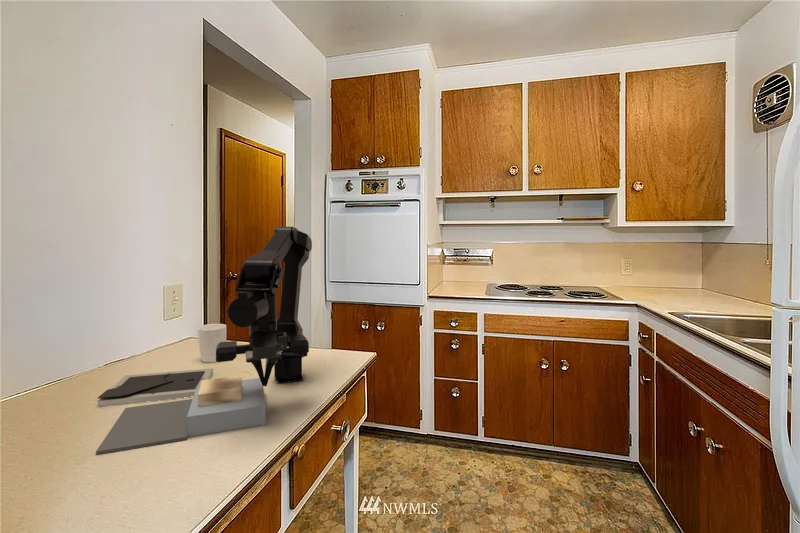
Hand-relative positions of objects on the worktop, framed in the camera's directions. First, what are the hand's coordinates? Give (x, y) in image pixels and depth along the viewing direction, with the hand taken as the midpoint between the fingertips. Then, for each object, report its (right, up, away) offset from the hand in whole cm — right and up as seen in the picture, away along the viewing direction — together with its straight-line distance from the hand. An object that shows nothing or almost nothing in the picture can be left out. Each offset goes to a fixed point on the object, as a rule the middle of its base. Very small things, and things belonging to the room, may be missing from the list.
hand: (264, 385), depth 86 cm
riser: (-7, -5, -2) cm, 9 cm away
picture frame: (-29, -5, +11) cm, 31 cm away
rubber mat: (-20, -6, -7) cm, 22 cm away
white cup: (-27, -2, +33) cm, 42 cm away
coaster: (-8, -1, -3) cm, 9 cm away
